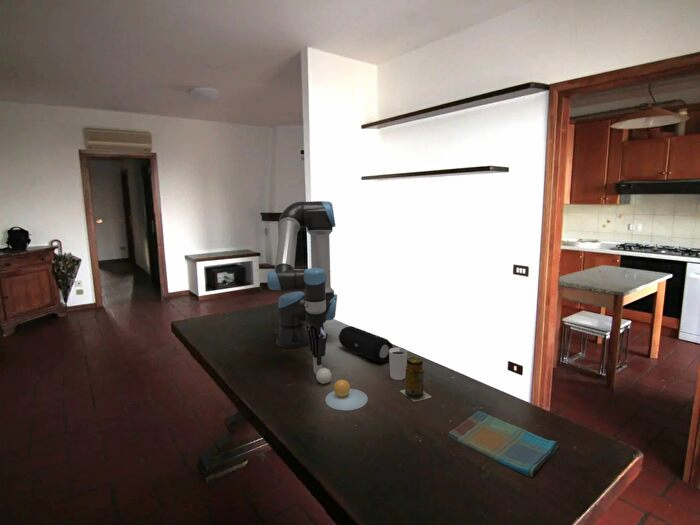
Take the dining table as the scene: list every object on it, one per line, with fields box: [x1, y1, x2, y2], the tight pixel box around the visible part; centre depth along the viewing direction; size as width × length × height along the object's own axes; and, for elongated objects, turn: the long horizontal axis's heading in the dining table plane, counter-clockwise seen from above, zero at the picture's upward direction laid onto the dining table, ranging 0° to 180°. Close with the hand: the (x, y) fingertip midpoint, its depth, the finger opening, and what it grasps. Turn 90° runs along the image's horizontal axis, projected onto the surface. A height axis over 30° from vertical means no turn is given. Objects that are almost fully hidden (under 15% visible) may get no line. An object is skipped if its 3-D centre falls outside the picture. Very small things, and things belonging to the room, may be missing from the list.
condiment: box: [399, 356, 432, 403], centre depth 131 cm, size 7×8×12 cm
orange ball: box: [333, 379, 351, 397], centre depth 132 cm, size 6×6×6 cm
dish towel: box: [447, 410, 560, 478], centre depth 106 cm, size 17×23×2 cm
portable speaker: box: [338, 326, 394, 363], centre depth 166 cm, size 26×10×10 cm, turn 40°
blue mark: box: [325, 388, 369, 412], centre depth 130 cm, size 14×14×1 cm
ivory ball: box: [315, 367, 332, 385], centre depth 141 cm, size 6×6×6 cm
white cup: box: [388, 346, 408, 381], centre depth 145 cm, size 7×7×10 cm
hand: (317, 372), depth 146 cm, fingers closed
